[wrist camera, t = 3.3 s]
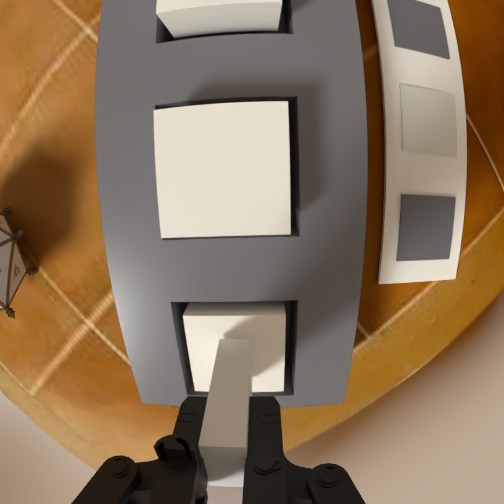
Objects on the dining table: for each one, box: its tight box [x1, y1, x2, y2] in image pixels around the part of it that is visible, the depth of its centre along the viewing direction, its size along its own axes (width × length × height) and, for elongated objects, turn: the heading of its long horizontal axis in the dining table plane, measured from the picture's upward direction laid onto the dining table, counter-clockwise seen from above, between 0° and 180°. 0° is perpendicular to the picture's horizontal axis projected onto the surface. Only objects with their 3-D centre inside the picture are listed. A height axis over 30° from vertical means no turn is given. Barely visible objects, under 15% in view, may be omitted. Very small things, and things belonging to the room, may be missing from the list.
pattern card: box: [371, 0, 467, 284], centre depth 15 cm, size 20×6×1 cm, turn 2°
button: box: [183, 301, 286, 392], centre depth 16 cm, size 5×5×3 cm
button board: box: [95, 0, 368, 408], centre depth 15 cm, size 26×12×4 cm, turn 2°
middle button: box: [154, 101, 291, 238], centre depth 12 cm, size 5×5×3 cm
